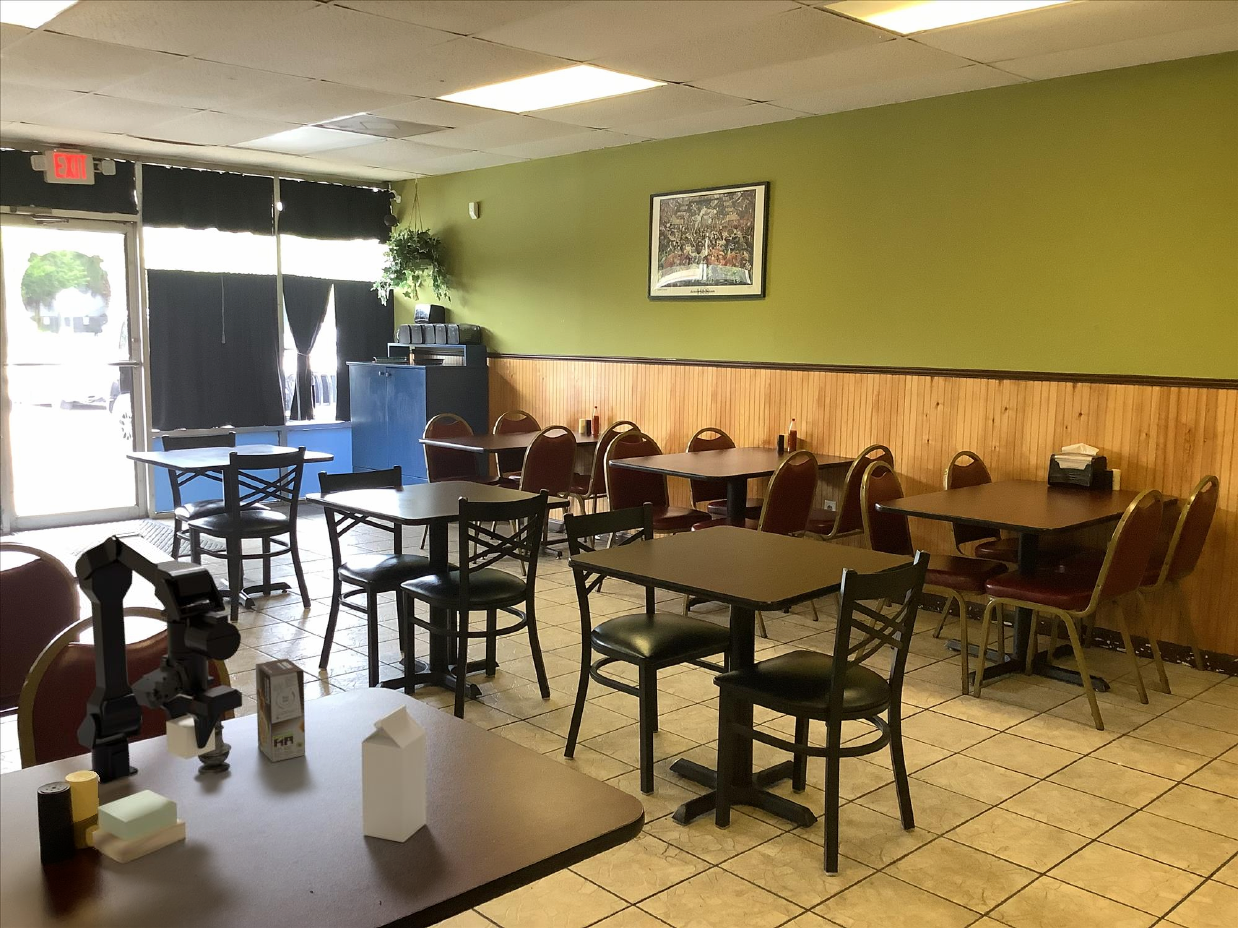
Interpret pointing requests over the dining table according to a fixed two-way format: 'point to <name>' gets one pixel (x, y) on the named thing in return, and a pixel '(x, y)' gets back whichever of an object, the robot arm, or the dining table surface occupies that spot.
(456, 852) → the dining table surface
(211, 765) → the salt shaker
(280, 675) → the coffee box
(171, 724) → the cream block
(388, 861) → the dining table surface
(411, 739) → the milk carton
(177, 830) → the maple slab
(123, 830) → the sage slab
